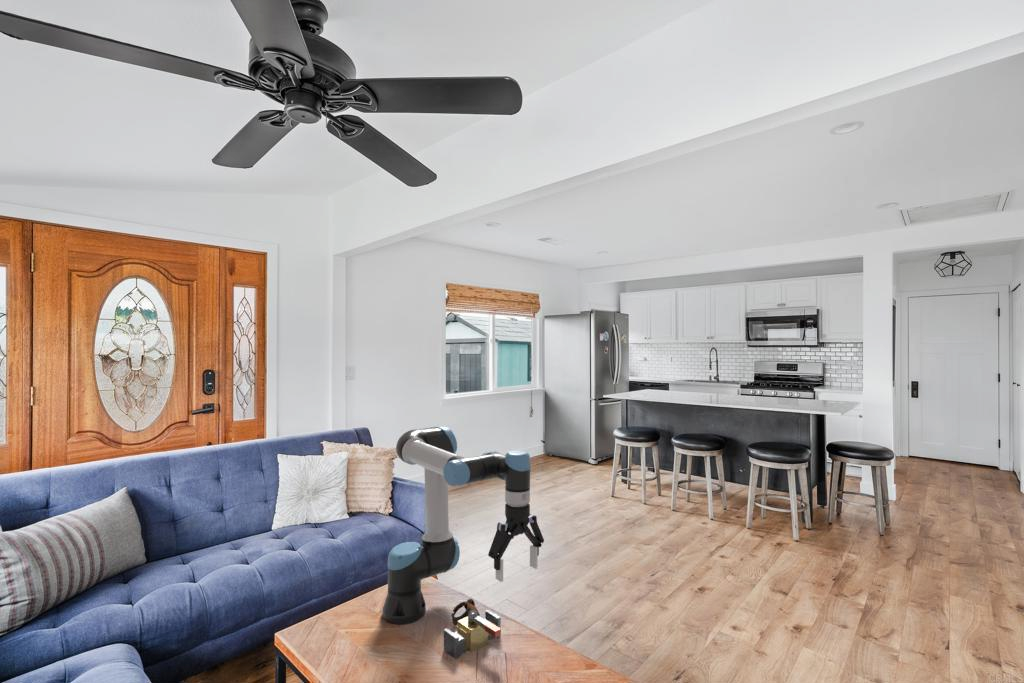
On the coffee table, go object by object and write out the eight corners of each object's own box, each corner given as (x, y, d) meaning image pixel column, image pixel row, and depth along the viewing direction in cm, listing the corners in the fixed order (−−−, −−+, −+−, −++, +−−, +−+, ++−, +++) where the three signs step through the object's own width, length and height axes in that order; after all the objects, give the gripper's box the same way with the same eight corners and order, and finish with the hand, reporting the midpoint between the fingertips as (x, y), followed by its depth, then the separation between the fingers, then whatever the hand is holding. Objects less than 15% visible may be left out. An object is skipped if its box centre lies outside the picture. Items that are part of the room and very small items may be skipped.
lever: (465, 620, 159) (465, 612, 159) (473, 616, 161) (473, 609, 161) (494, 639, 149) (494, 631, 149) (502, 635, 151) (502, 627, 151)
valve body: (443, 649, 156) (443, 627, 156) (487, 628, 168) (487, 607, 168) (456, 660, 150) (456, 636, 150) (501, 637, 162) (501, 615, 163)
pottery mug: (482, 633, 165) (470, 614, 164) (457, 643, 167) (445, 624, 166) (486, 606, 177) (475, 588, 176) (463, 615, 179) (452, 598, 177)
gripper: (492, 515, 140) (491, 590, 139) (555, 498, 156) (555, 566, 155) (476, 508, 146) (476, 580, 145) (539, 492, 161) (538, 558, 161)
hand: (516, 573), depth 150 cm, fingers open, 13 cm apart
